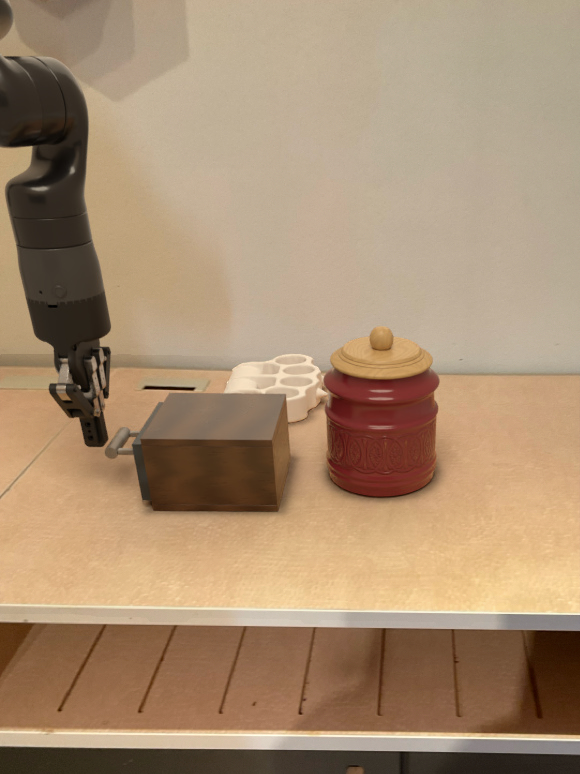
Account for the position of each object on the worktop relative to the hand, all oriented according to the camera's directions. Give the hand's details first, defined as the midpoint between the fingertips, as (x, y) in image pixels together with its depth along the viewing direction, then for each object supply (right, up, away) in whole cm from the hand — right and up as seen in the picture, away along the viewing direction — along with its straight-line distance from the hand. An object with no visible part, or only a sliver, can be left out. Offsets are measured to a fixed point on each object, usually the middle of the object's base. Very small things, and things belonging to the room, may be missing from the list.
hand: (97, 444), depth 89 cm
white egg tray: (+17, +10, +25) cm, 31 cm away
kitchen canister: (+32, -3, +6) cm, 32 cm away
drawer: (+10, -3, +2) cm, 11 cm away
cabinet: (+14, -4, +3) cm, 15 cm away
